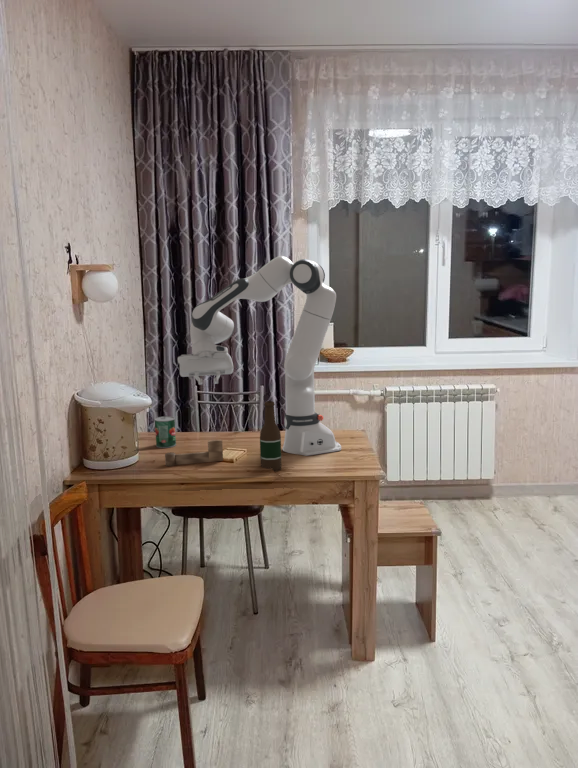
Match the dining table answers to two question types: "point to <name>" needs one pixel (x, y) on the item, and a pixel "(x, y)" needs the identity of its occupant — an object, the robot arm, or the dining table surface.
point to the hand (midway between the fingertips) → (208, 383)
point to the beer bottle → (270, 440)
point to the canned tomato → (165, 432)
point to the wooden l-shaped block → (197, 455)
